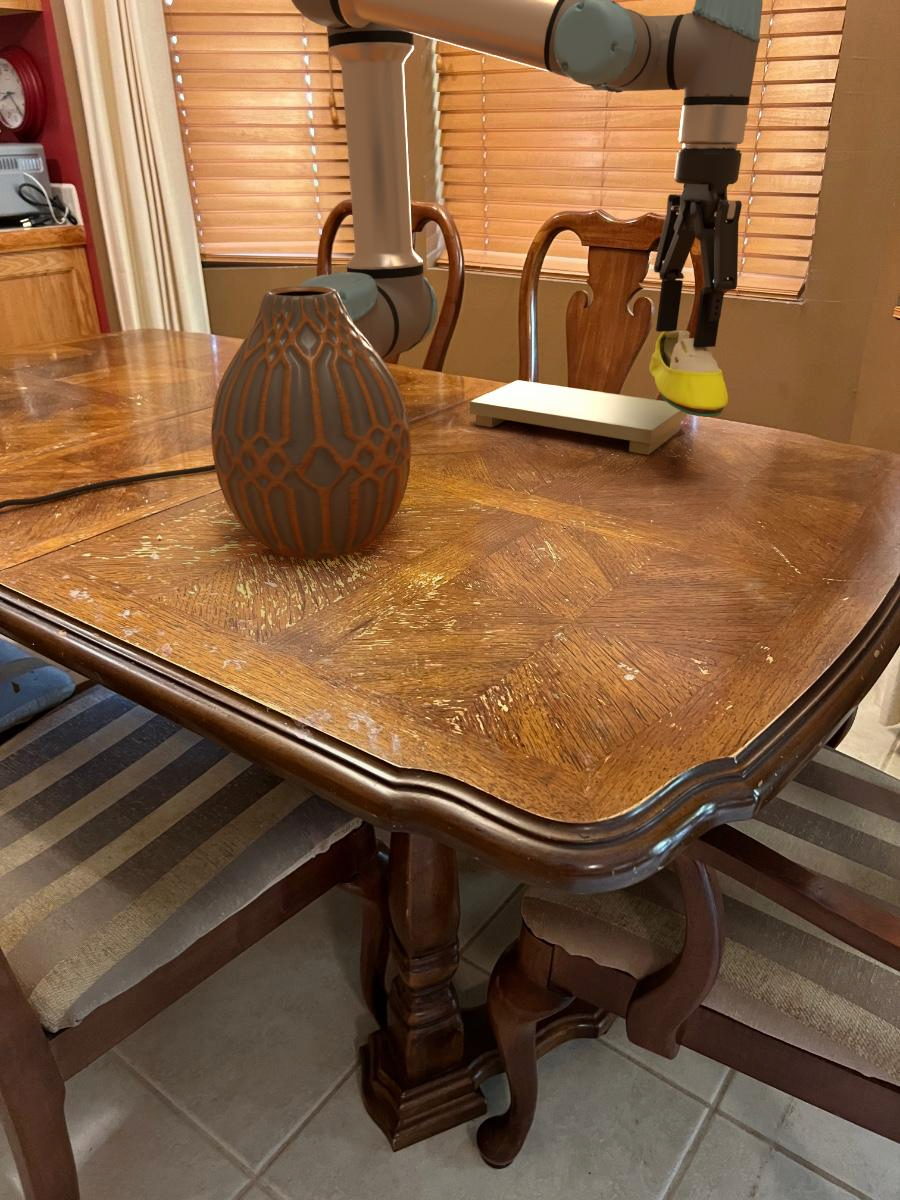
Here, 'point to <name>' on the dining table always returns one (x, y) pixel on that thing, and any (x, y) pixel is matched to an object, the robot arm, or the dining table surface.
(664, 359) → the ballet flat
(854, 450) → the dining table surface
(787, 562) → the dining table surface
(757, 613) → the dining table surface
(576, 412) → the low footed display riser
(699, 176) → the robot arm
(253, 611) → the dining table surface
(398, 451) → the vase
